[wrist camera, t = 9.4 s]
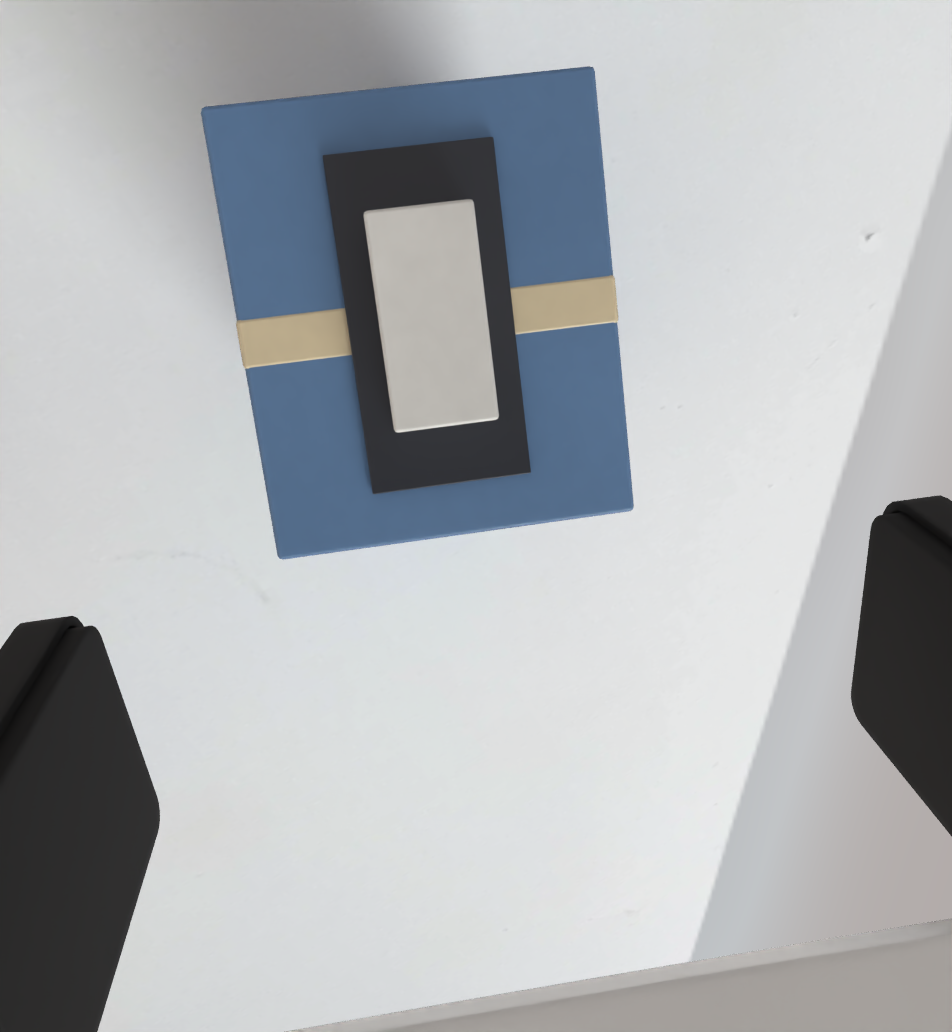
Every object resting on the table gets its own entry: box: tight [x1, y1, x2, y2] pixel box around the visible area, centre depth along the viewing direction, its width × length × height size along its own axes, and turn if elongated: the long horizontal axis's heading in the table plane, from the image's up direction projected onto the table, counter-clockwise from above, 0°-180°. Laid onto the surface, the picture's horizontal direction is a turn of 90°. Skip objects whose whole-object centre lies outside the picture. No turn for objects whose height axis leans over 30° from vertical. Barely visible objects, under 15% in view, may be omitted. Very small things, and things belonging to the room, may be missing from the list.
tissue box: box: [201, 67, 634, 559], centre depth 19 cm, size 14×6×7 cm
